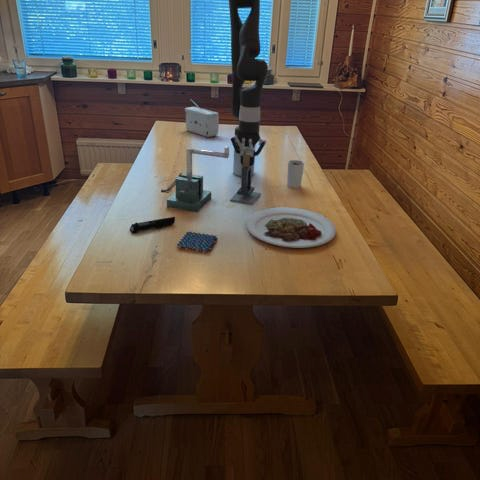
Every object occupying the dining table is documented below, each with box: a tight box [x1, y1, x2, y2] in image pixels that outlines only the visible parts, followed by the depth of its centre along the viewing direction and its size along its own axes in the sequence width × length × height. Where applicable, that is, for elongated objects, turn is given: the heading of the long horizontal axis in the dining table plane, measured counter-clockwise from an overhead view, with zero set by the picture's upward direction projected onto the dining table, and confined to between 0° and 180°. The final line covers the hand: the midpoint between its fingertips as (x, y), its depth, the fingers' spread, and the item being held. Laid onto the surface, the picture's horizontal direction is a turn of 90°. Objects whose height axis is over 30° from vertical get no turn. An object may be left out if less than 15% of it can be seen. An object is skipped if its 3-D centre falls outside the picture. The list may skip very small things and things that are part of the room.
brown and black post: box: [236, 152, 255, 196], centre depth 171 cm, size 7×5×15 cm
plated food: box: [245, 206, 337, 249], centre depth 152 cm, size 30×30×3 cm
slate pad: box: [229, 191, 261, 205], centre depth 176 cm, size 11×9×1 cm
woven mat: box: [176, 231, 219, 254], centre depth 141 cm, size 10×11×2 cm
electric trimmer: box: [129, 216, 176, 234], centre depth 149 cm, size 4×15×3 cm, turn 120°
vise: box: [166, 146, 230, 213], centre depth 162 cm, size 16×21×23 cm
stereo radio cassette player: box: [184, 100, 220, 138], centre depth 254 cm, size 21×8×20 cm, turn 45°
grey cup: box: [286, 159, 305, 189], centre depth 188 cm, size 7×7×10 cm
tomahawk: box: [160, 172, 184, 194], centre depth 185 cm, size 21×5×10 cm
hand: (247, 164), depth 170 cm, fingers closed on brown and black post, 2 cm apart
